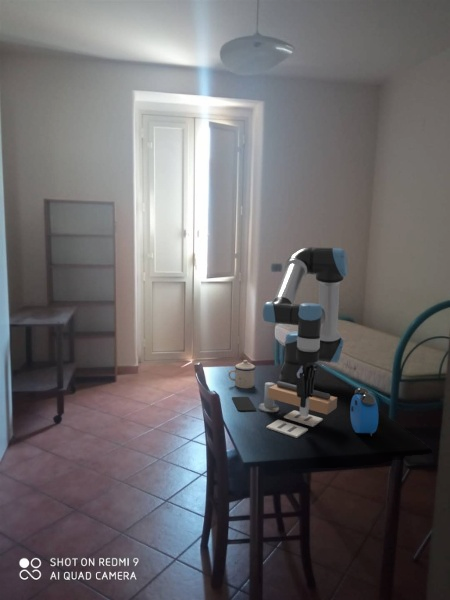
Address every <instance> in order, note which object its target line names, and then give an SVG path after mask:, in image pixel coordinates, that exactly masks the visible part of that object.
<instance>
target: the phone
mask: <svg viewBox="0 0 450 600" xmlns="http://www.w3.org/2000/svg"><path fill="white" fill-rule="evenodd" d="M231 401H232V403H233V404H234V406H235V408H236V410H237V411H238V413H239V412H240V413H242V412H243V413H246V412H247V413H249V412H256V411H257V408H256V406H255V405H254V403H253V401H252V400H251V399H250V397H249V396H233V397H231Z"/></svg>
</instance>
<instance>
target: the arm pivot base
mask: <svg viewBox="0 0 450 600" xmlns="http://www.w3.org/2000/svg"><path fill="white" fill-rule="evenodd" d="M258 410H260V412H264V413H270V414H272V413H276V412H279V411H280V406H279V405H278V404H276V403H274V407H272V408H267V407H265V406H264V402H263V403H259V404H258Z"/></svg>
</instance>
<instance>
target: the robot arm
mask: <svg viewBox="0 0 450 600" xmlns="http://www.w3.org/2000/svg"><path fill="white" fill-rule="evenodd" d="M306 275H314V276H315V279H316V281H317V282H318V283H319V286H318V287H319V288H318V303H314V302H304V303H300V304H297V303H296V304H295V300H296V297H297V295H298V291H299V289H300V285H301V284H302V280H303V278H304V277H306ZM347 276H348V257H347V252H346V250H344V249H343V248H337V247H314V246H307V247H303V248H300V249H299V250H298V251H296V252H294V253H293V254H291V256H290V257H288V259H287V260H286V262H285V265H284V274H283V276H282V279H281V281H280V283H279V286H278V289H277V290H276V293H275V296H274V298H273V301H267V302H265V303H264V305H263V310H262V318H263V321H264V322H265V323H266V322H267V323H270V324H282V325H293V326H297V330H294V331H289V332H287V334H285V341H284V359H283V361H284V362H283V365H282V367H281V370H280V372H279V381H281V382H284V383H288V384H292V385H296V387H297V397H300V407H299V415H302V416H305V417H307V416H308V414H310V413H309V411H310V410H309V397H312V396H313V395H311V394H312V393H313V390H315V382H316V376H317V371H318V368H319V367H318V365H316V363H317V362H324V363H329V364H330V363H333V364H335V363H336V364H338V363H339V362H340V360H341V356H342V351H343V347H344V342H345V338H343V337H342V335H341V333H340V332H339V331H338V329H339V328H338V326H339V306H340V305H339V302H340V283H341V282H343V281H344V278H345V277H347Z"/></svg>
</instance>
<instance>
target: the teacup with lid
mask: <svg viewBox="0 0 450 600" xmlns="http://www.w3.org/2000/svg"><path fill="white" fill-rule="evenodd" d="M234 368H235V369H231V370H229V372H228V373H227V374H228V375H227V376H228V378H229V379H230V381H232V382H234V385H235V387H237V388H240V389H251V388H253V387H254V386H255V373H256V371H255V370H256V366H255V364H252V363H250V362H248V360H247V359H244V360H243V361H242V362H239V363H237V364H236V365H235V366H234ZM232 372H234V374H235V375H234V376H235V377H234V378H233V377H231V373H232Z"/></svg>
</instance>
